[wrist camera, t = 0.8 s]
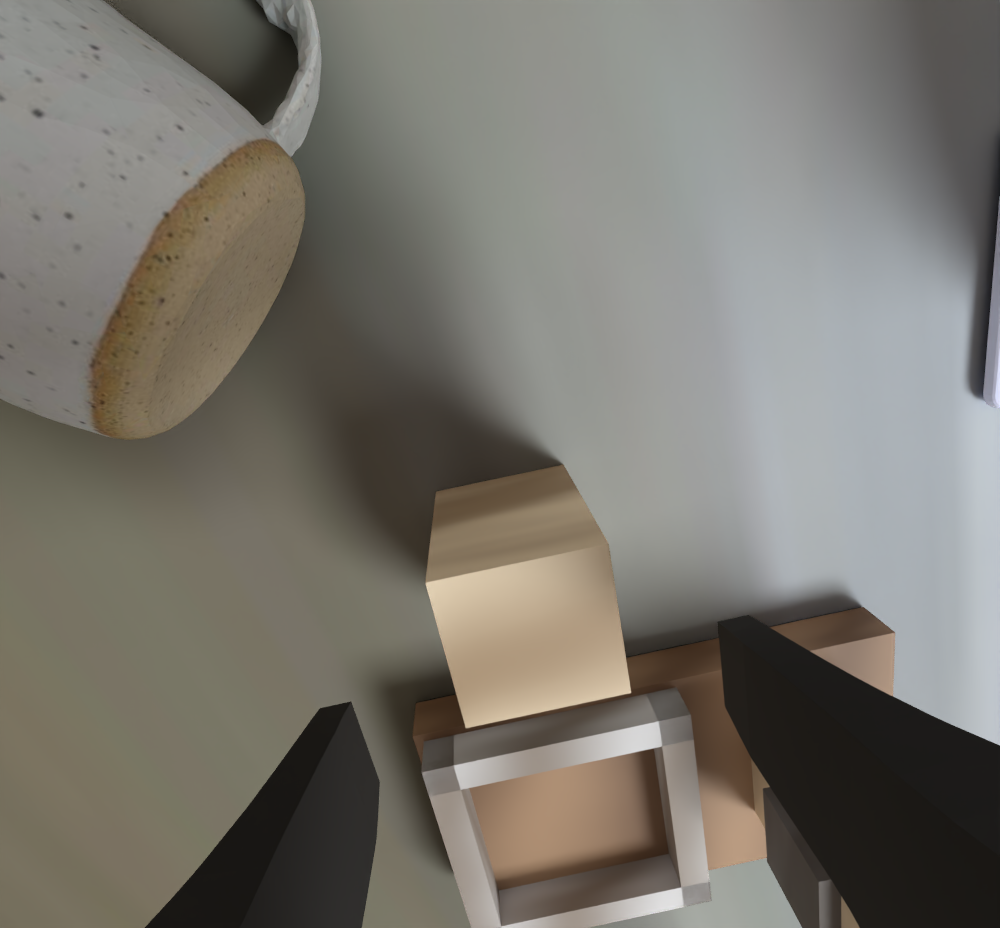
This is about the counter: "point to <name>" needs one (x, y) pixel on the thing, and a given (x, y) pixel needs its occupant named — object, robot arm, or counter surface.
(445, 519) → the tan square block
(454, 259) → the counter surface
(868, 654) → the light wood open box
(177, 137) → the ceramic mug
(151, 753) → the counter surface
